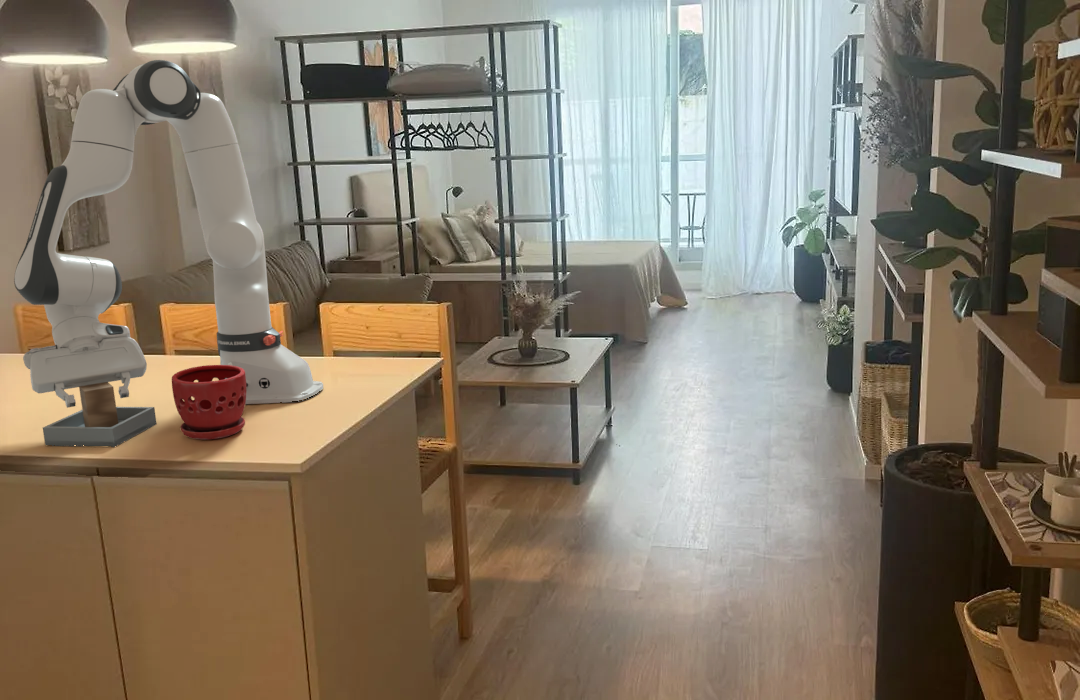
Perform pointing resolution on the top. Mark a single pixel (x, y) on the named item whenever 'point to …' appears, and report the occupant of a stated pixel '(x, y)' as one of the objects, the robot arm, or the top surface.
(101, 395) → the walnut block
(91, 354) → the robot arm
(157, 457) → the top surface
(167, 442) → the top surface
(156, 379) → the top surface
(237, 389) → the plant pot
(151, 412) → the tray
